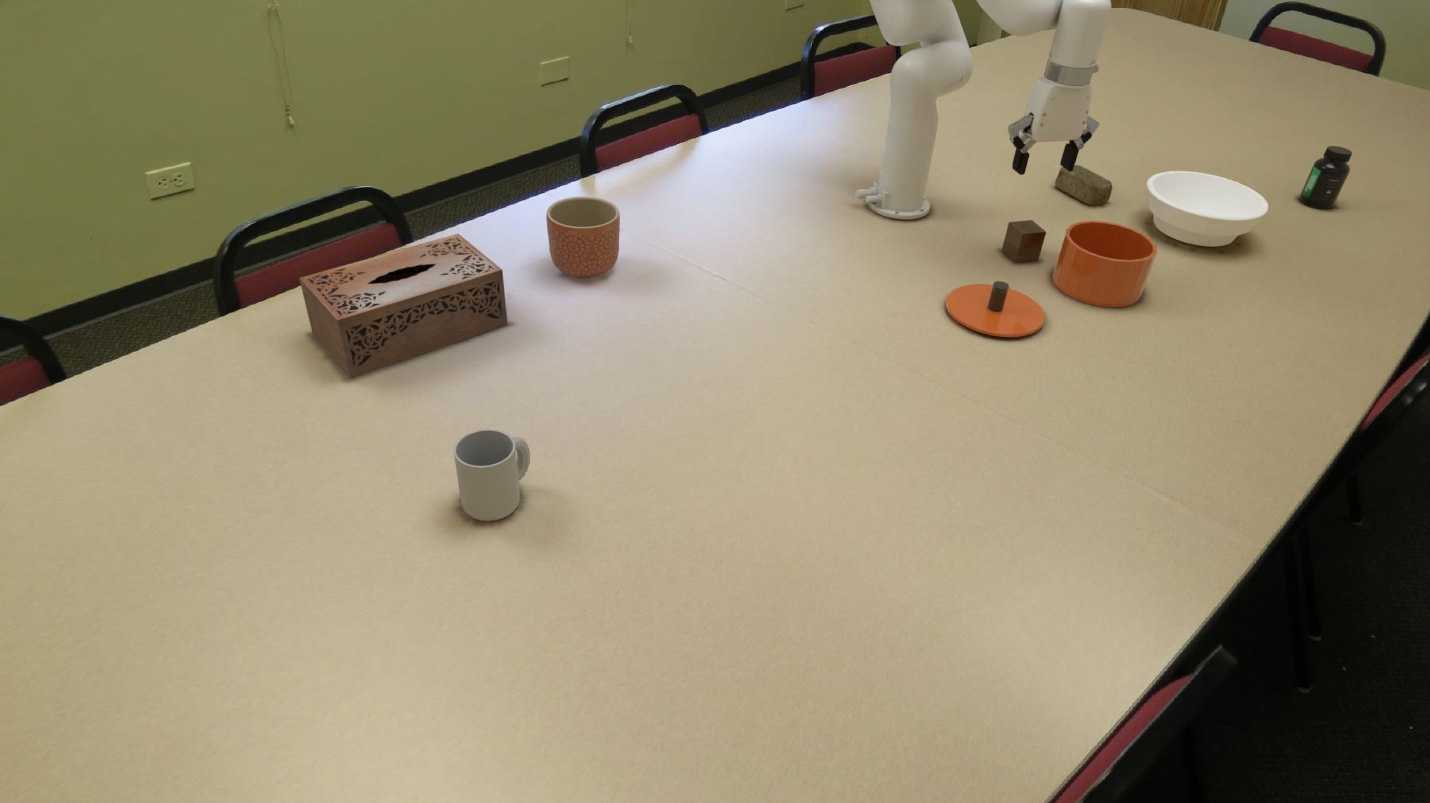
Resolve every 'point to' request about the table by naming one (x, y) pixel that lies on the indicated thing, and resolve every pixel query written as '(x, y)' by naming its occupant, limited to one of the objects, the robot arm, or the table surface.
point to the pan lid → (995, 310)
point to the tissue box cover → (404, 303)
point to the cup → (490, 472)
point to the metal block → (1023, 241)
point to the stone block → (1084, 185)
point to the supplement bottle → (1326, 178)
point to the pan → (1104, 263)
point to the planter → (583, 235)
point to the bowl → (1203, 207)
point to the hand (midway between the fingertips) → (1042, 170)
